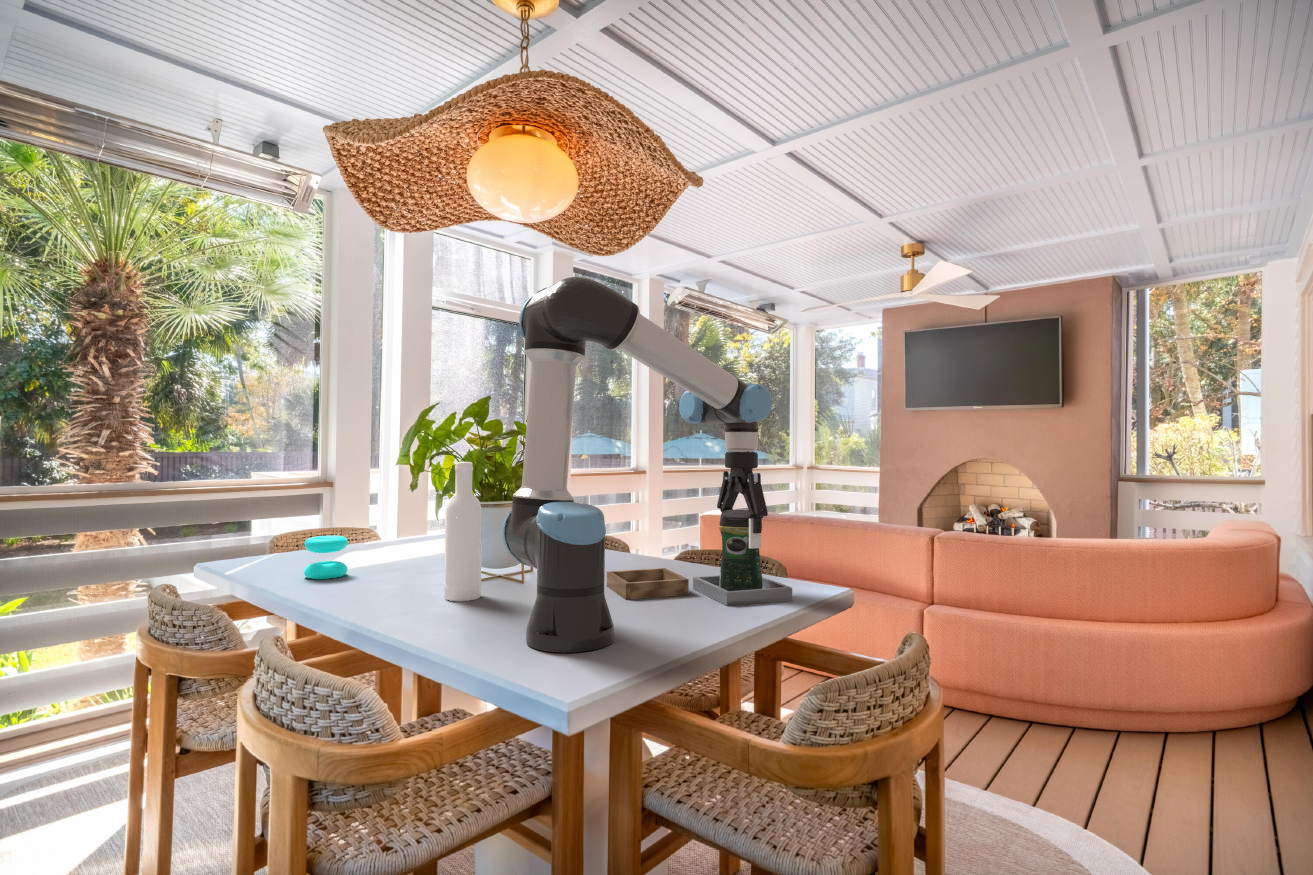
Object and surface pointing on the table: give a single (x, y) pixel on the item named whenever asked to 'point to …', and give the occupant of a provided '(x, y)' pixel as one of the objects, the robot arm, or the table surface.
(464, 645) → the table surface
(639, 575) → the walnut frame
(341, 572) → the pair of cyan pebbles
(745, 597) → the slate tray
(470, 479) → the bottle
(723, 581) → the coffee jar
